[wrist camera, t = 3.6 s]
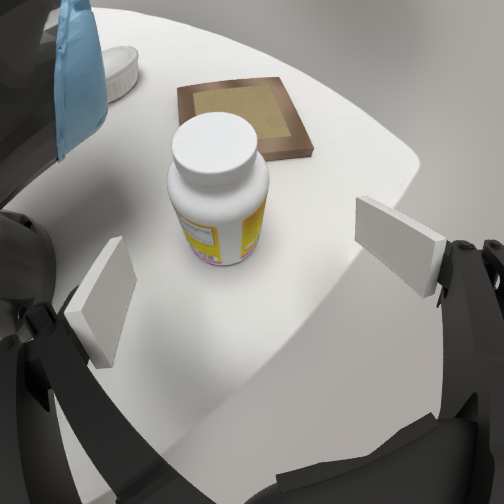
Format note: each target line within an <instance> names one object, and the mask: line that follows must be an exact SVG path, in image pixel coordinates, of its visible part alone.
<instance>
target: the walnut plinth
mask: <svg viewBox="0 0 504 504" xmlns="http://www.w3.org/2000/svg"><path fill="white" fill-rule="evenodd" d="M177 95H178V111H179V124H180V126H181V125H182V124H184V123H185V122H186V121H188V120H190V119H191V118H193V117H196V116H198V115H201V114H204V113H210V112H225V113H230V114H234V115H237V116H239V117H241V118H243V119H245V120H246V121H247V122H248V123H249V124H250V125H251V126H252V127H253V128H254V130H255V132H256V135H257V141H258V144H257V151H258V152H259V153H260V154H261V155H262V157H263V158H264V160H265V161H272V160H281V159H291V158H301V157H311V155H312V152H313V150H314V147H313V145H312V143H311V141H310V138H309V136H308V134H307V132H306V130H305V127H304V125H303V123H302V121H301V119H300V117H299V115H298V113H297V111H296V109H295V107H294V105H293V103H292V101H291V99H290V97H289V95H288V93H287V91H286V89H285V87H284V85H283V83H282V81H281V79H280V78H279V77H267V78H250V79H237V80H227V81H219V82H211V83H203V84H197V85H191V86H185V87H179V88H177Z"/></svg>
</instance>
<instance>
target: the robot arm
mask: <svg viewBox="0 0 504 504" xmlns="http://www.w3.org/2000/svg"><path fill="white" fill-rule="evenodd" d="M107 111H108V90H107V82H106V75H105V69H104V63H103V57H102V52H101V46H100V41H99V36H98V31H97V26H96V22H95V18H94V14H93V12H92V11H91V5H90V1H89V0H0V504H82V502H81V500H80V497H79V495H78V492H77V489H76V486H75V483H74V480H73V477H72V474H71V471H70V468H69V464H68V461H67V457H66V454H65V450H64V446H63V442H62V438H61V433H60V428H59V424H58V418H57V413H56V407H55V400H54V394H55V396H56V398H57V400H58V402H59V404H60V406H61V408H62V410H63V412H64V414H65V416H66V418H67V420H68V422H69V424H70V426H71V428H72V429H73V431H74V433H75V435H76V437H77V438H78V440H79V442H80V443H81V445H82V447H83V448H84V450H85V452H86V453H87V455H88V456H89V458H90V459H91V461H92V462H93V464H94V465H95V467H96V468H97V470H98V471H99V473H100V474H101V475H102V477H103V478H104V480H105V481H106V482H107V484H108V485H109V486H110V488H111V489H112V490H113V492H114V493H115V494H116V496H117V499H116V501H115V502H116V504H216V503H215V502H213V501H212V500H211V499H209V498H208V497H207V496H205V495H204V494H203V493H202V492H200V491H199V490H198V489H197V488H196V487H194V486H193V485H192V484H191V483H190V482H188V481H187V480H186V479H185V478H184V477H183V476H181V475H180V474H179V473H178V472H177V471H176V470H175V469H174V468H173V467H172V466H171V465H169V464H168V463H167V462H166V461H165V460H164V459H163V458H162V457H161V456H160V455H159V454H158V453H157V452H156V451H155V450H154V449H153V448H152V447H151V446H150V445H149V444H148V443H147V441H146V440H145V439H144V438H143V437H142V436H141V435H140V434H139V433H138V432H137V431H136V429H135V428H134V427H133V426H132V425H131V424H130V423H129V421H128V420H127V419H126V418H125V417H124V415H123V414H122V413H121V412H120V411H119V409H118V408H117V407H116V405H115V404H114V403H113V402H112V400H111V399H110V398H109V396H108V395H107V394H106V392H105V391H104V390H103V388H102V387H101V386H100V384H99V383H98V381H97V380H96V379H95V377H94V376H93V374H92V373H91V371H90V370H89V368H88V367H87V364H88V361H89V358H90V360H91V362H92V363H93V365H94V366H95V368H96V369H100V368H112V367H113V363H114V359H115V355H116V351H117V347H118V343H119V339H120V335H121V332H122V328H123V324H124V321H125V317H126V314H127V311H128V307H129V304H130V301H131V297H132V294H133V291H134V288H135V285H136V282H137V279H136V276H135V273H134V270H133V267H132V264H131V261H130V257H129V254H128V251H127V248H126V244H125V241H124V237H123V236H119V237H114V238H110V240H109V241H108V243H107V244H106V245H105V247H104V248H103V250H102V251H101V253H100V254H99V256H98V257H97V259H96V260H95V262H94V263H93V265H92V266H91V268H90V270H89V271H88V273H87V274H86V276H85V277H84V279H83V281H82V282H81V284H80V285H78V286H77V287H76V288H74V289H73V290H72V291H71V292H70V294H69V296H68V297H67V300H65V302H64V304H63V306H62V307H61V309H60V311H59V312H58V314H56V312H55V310H54V309H53V307H52V305H51V299H52V295H53V290H54V284H55V255H54V250H53V246H52V243H51V240H50V238H49V236H48V234H47V232H46V231H45V230H44V228H43V227H41V226H40V225H39V224H38V223H37V222H35V221H34V220H33V219H31V218H30V217H28V216H26V215H24V214H21V213H16V212H12V211H8V210H3V209H2V208H3V207H4V206H5V205H6V204H7V203H9V202H10V201H11V200H12V199H13V198H14V197H15V196H16V195H17V194H18V193H19V192H21V191H22V190H23V189H24V188H25V187H26V186H27V185H29V184H30V183H31V182H32V181H33V180H34V179H36V178H37V177H38V176H39V175H41V174H42V173H43V172H44V171H46V170H47V169H48V168H49V167H51V166H52V165H53V164H55V163H56V162H57V161H58V163H60V162H61V161H63V159H64V158H65V155H66V154H67V153H68V152H70V151H71V150H72V149H74V148H75V147H76V146H77V145H79V144H80V143H81V142H83V141H84V140H86V139H87V138H88V137H90V136H91V135H93V134H94V133H95V132H96V131H98V130H99V128H100V127H101V126H102V124H103V123H104V121H105V118H106V115H107ZM355 241H356V242H357V243H359V244H360V245H361V246H362V247H364V248H365V249H366V250H367V251H369V252H370V253H371V254H372V255H374V256H375V257H376V258H377V259H378V260H380V261H381V262H382V263H383V264H384V265H386V266H387V267H388V268H389V269H390V270H391V271H393V272H394V273H395V274H396V275H397V276H399V277H400V278H401V279H402V280H403V281H404V282H405V283H407V284H408V285H409V286H410V287H411V288H412V289H413V290H414V291H416V292H417V293H418V294H419V295H420V296H421V297H422V298H425V297H428V296H430V295H433V294H434V293H435V289H436V286H437V282H438V283H439V284H441V285H442V289H441V293H440V296H439V299H438V303H437V308H438V307H439V305H440V304H441V306H442V307H441V308H442V321H443V384H442V398H441V409H440V413H439V416H438V419H437V420H436V419H435V417H434V416H433V414H432V413H431V412H430V413H429V414H427V415H425V416H424V417H422V418H420V419H419V420H417V421H415V422H413V423H412V424H409V425H408V426H406V427H404V428H402V429H400V430H399V431H398V432H397V433H396V434H395V435H393V436H392V437H391V438H390V439H389V440H387V441H386V442H385V443H384V444H382V445H381V446H380V447H379V448H377V449H376V450H375V451H374V452H372V453H371V454H369V455H367V456H364V457H358V458H352V459H346V460H339V461H331V462H322V463H318V464H314V465H311V466H308V467H304V468H301V469H297V470H293V471H289V472H286V473H282V474H277V475H276V480H277V483H275V484H273V485H271V486H269V487H267V488H265V489H263V490H261V491H260V492H258V493H257V494H255V495H254V496H253V497H251V498H250V499H249V500H248V501H247V502H245V503H244V504H504V246H503V245H502V244H501V243H500V242H498V241H496V240H485V241H484V245H483V250H477V249H476V247H475V246H474V245H473V244H471V243H469V242H467V241H462V240H456V241H453V242H452V243H451V242H449V241H447V239H446V238H445V237H443V236H441V235H440V234H438V233H436V232H434V231H433V230H431V229H429V228H427V227H426V226H424V225H422V224H420V223H419V222H417V221H415V220H413V219H411V218H409V217H407V216H406V215H404V214H402V213H400V212H398V211H396V210H394V209H392V208H390V207H388V206H386V205H384V204H382V203H380V202H378V201H376V200H374V199H372V198H370V197H368V196H362V197H356V224H355ZM498 276H500V284H499V287H498V289H496V287H495V285H496V282H497V279H498ZM31 337H33V339H34V340H31V341H28V342H26V341H27V340H29V339H30V338H31ZM24 342H25V343H24ZM53 391H54V393H53Z"/></svg>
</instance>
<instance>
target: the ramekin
mask: <svg viewBox="0 0 504 504" xmlns="http://www.w3.org/2000/svg"><path fill="white" fill-rule="evenodd" d="M102 57H103V63H104V69H105V75H106V82H107V90H108V103H110V102H112V101H114V100H117V99H118V98H120V97H122V96H123V95H125V94H126V93H127V92H129V91H130V90H131V89H132V87H133V86H134V85H135V83H136V81H137V79H138V51H137V50H136V49H135V48H134V47H131V46H119V47H114V48H110V49H107V50H105V51H102Z"/></svg>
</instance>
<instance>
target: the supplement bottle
mask: <svg viewBox="0 0 504 504" xmlns="http://www.w3.org/2000/svg"><path fill="white" fill-rule="evenodd" d="M257 144H258V141H257V135H256V132H255V130H254V128H253V127H252V126H251V125H250V124H249V123H248V122H247V121H246V120H245V119H243V118H241V117H239V116H237V115H234V114H230V113H225V112H210V113H204V114H201V115H198V116H196V117H193V118H191V119H190V120H188V121H186V122H185V123H184V124H182V125H181V126H180V127H179V129H178V130H177V131H176V133H175V134H174V137H173V140H172V145H171V148H172V154H173V158H174V160H173V161H172V163H171V165H170V168H169V171H168V175H167V189H168V194H169V197H170V200H171V202H172V205H173V207H174V209H175V212H176V214H177V217H178V219H179V221H180V224H181V226H182V229H183V231H184V233H185V235H186V238H187V240H188V242H189V244H190V246H191V248H192V249H193V251H194V252H195V253H196V254H197V255H198V256H199V257H200V258H201V259H203V260H204V261H206V262H208V263H211V264H215V265H231V264H235V263H238V262H240V261H242V260H243V259H245V258H246V257H247V256H249V255H250V254H251V252H252V251H253V250H254V248H255V247H256V245H257V242H258V239H259V235H260V230H261V225H262V219H263V214H264V208H265V203H266V198H267V193H268V187H269V171H268V167H267V165H266V162H265V160H264V158H263V157H262V155H261V154H260V153H259V152H258V151H257Z"/></svg>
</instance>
